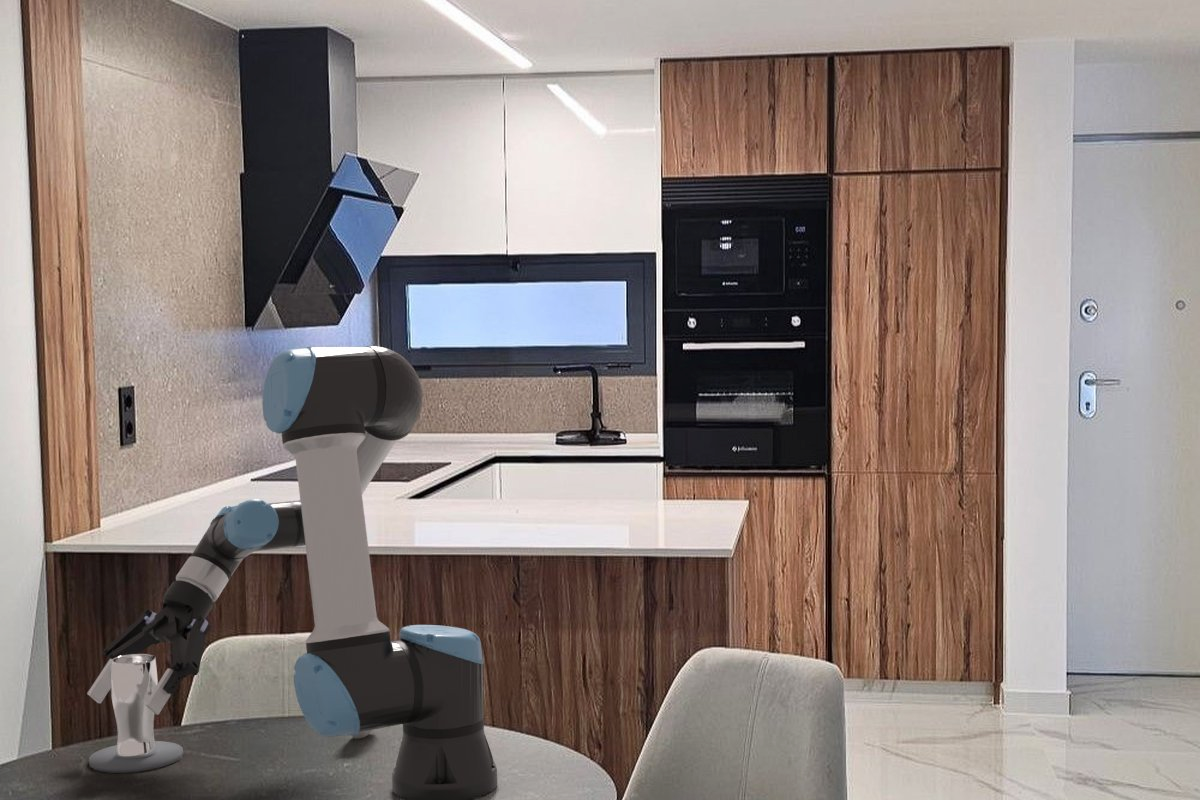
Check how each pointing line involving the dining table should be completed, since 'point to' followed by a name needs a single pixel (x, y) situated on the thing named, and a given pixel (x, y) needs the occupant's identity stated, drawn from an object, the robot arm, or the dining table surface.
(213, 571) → the robot arm
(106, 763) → the mat
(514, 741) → the dining table surface
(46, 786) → the dining table surface
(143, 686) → the beer glass
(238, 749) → the dining table surface
